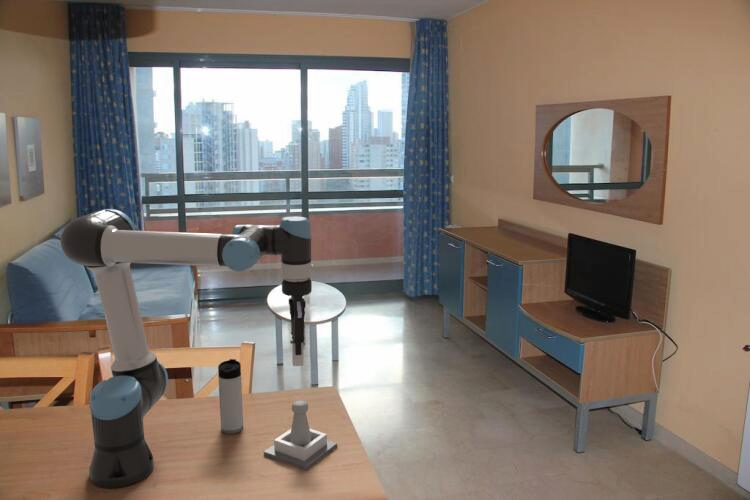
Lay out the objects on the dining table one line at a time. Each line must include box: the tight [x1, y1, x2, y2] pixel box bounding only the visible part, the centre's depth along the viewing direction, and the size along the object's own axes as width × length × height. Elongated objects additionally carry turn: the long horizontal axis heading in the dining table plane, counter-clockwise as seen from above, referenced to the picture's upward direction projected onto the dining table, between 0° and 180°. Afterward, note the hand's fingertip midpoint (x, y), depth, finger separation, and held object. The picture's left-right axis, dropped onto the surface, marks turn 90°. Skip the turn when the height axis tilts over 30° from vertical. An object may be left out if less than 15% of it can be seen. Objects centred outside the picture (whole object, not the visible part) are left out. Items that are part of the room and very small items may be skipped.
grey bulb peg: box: [290, 399, 311, 447], centre depth 171 cm, size 6×6×13 cm
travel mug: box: [217, 358, 244, 435], centre depth 182 cm, size 6×7×20 cm
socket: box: [263, 427, 338, 471], centre depth 172 cm, size 14×14×4 cm
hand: (297, 364), depth 168 cm, fingers closed
